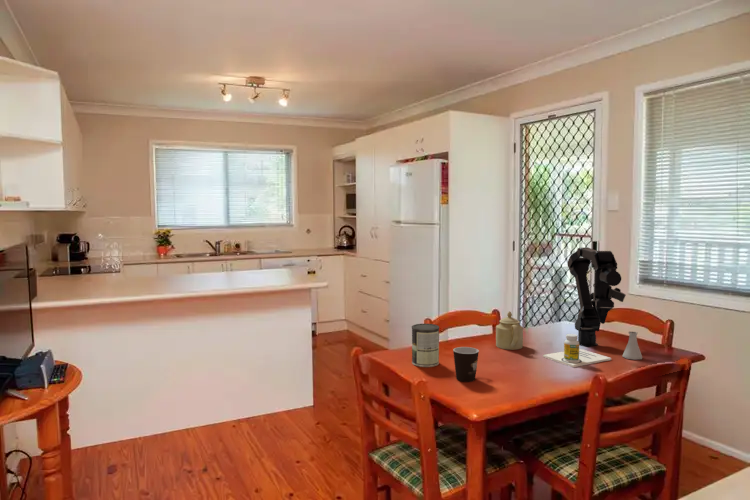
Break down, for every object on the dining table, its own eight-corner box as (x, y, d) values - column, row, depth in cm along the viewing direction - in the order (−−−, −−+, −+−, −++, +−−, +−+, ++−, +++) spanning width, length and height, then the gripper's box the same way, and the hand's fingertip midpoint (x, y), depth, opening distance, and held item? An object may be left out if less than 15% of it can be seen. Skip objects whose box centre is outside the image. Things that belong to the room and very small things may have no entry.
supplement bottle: (573, 357, 200) (574, 332, 199) (582, 361, 194) (582, 336, 194) (560, 358, 199) (561, 333, 198) (569, 362, 193) (569, 337, 193)
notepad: (543, 357, 204) (543, 354, 204) (579, 350, 213) (579, 348, 213) (573, 367, 191) (573, 364, 191) (611, 360, 200) (611, 357, 199)
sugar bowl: (535, 350, 214) (535, 314, 213) (514, 353, 209) (515, 316, 208) (510, 341, 227) (510, 307, 226) (490, 345, 222) (490, 310, 221)
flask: (645, 360, 198) (646, 334, 198) (624, 359, 200) (625, 334, 199) (639, 355, 205) (640, 330, 205) (619, 354, 207) (620, 329, 206)
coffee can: (406, 363, 197) (406, 326, 196) (423, 357, 204) (423, 322, 203) (427, 369, 190) (427, 331, 189) (444, 363, 197) (444, 326, 196)
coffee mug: (461, 384, 173) (462, 355, 172) (448, 376, 181) (448, 348, 180) (490, 379, 177) (491, 351, 177) (476, 372, 185) (476, 344, 185)
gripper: (629, 286, 196) (627, 327, 197) (619, 279, 214) (618, 317, 215) (597, 285, 198) (596, 325, 200) (590, 279, 216) (589, 316, 218)
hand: (600, 321), depth 208 cm, fingers open, 9 cm apart
